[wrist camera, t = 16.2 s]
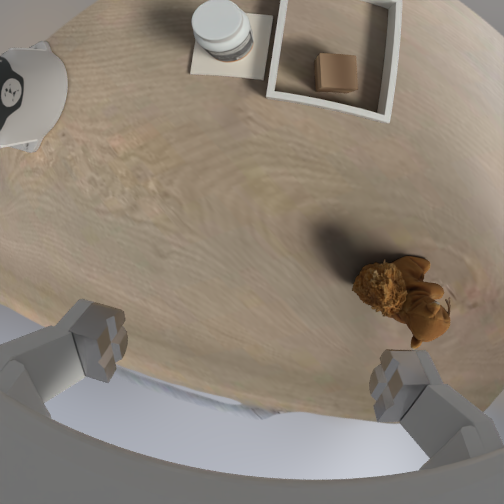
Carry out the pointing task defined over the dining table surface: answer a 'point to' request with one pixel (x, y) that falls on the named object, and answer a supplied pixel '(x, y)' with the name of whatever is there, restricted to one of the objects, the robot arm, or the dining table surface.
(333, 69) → the walnut block
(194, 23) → the pill bottle
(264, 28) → the coaster
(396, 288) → the stuffed squirrel
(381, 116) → the tray frame
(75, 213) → the dining table surface
